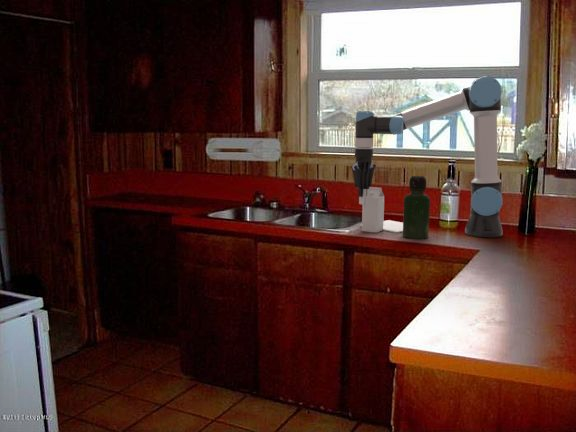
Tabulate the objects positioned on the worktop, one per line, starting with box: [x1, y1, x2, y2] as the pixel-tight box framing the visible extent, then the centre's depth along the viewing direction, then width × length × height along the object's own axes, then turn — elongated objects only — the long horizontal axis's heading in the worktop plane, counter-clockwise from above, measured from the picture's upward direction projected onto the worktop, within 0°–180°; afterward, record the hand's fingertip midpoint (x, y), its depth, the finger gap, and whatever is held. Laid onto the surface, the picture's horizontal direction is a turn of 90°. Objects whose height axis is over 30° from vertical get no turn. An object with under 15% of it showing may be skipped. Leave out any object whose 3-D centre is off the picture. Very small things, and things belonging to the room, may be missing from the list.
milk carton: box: [361, 186, 385, 233], centre depth 269 cm, size 7×7×19 cm
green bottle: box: [402, 175, 431, 240], centre depth 256 cm, size 10×10×25 cm
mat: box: [359, 219, 403, 234], centre depth 280 cm, size 22×20×1 cm
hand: (362, 204), depth 264 cm, fingers closed
